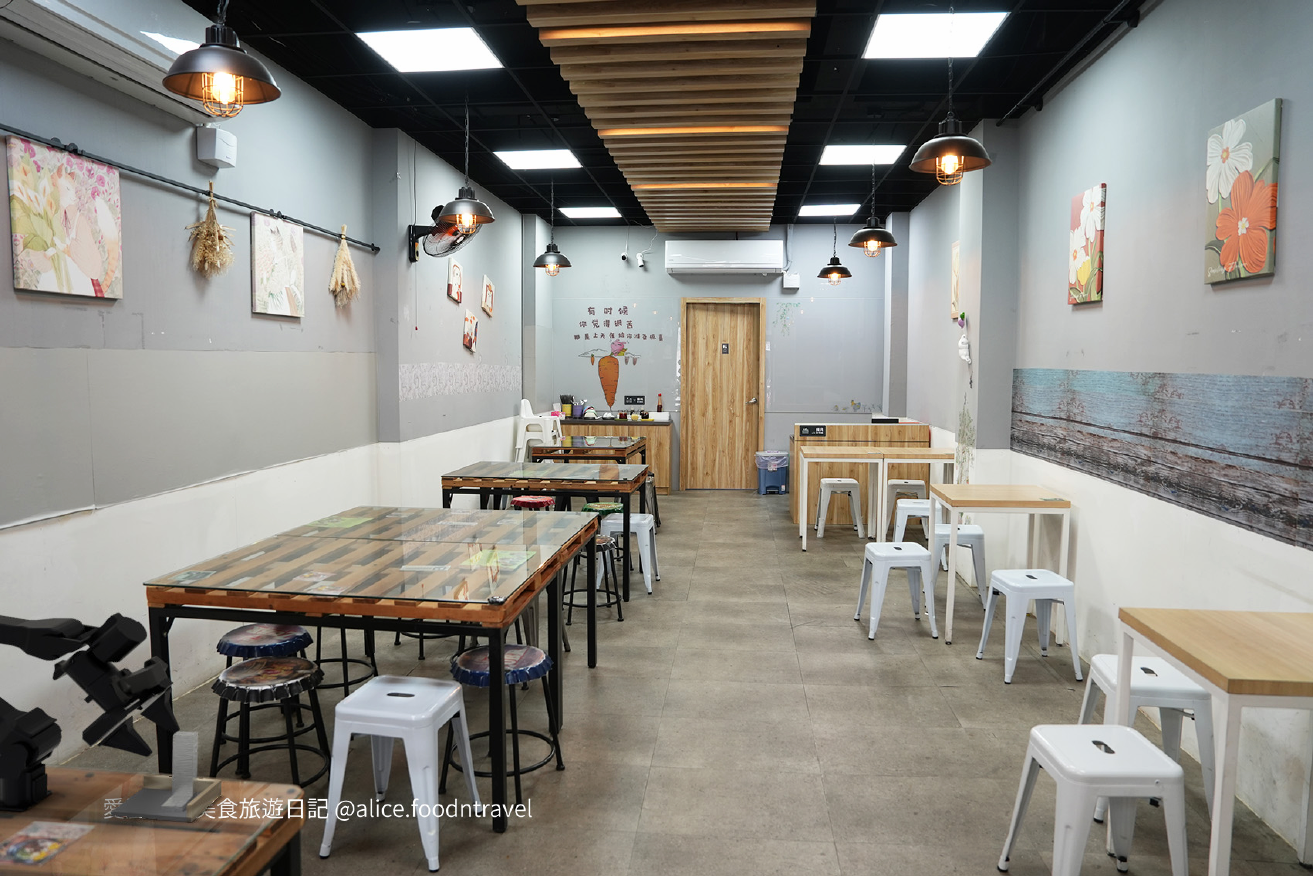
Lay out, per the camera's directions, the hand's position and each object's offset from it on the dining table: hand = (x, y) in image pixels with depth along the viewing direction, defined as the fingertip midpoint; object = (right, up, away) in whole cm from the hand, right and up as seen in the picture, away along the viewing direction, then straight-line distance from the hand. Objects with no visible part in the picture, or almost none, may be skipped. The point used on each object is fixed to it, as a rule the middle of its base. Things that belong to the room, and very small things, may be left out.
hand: (164, 743), depth 145 cm
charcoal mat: (+1, -11, 0) cm, 11 cm away
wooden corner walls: (+1, -11, 0) cm, 11 cm away
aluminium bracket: (+3, -11, -1) cm, 11 cm away
